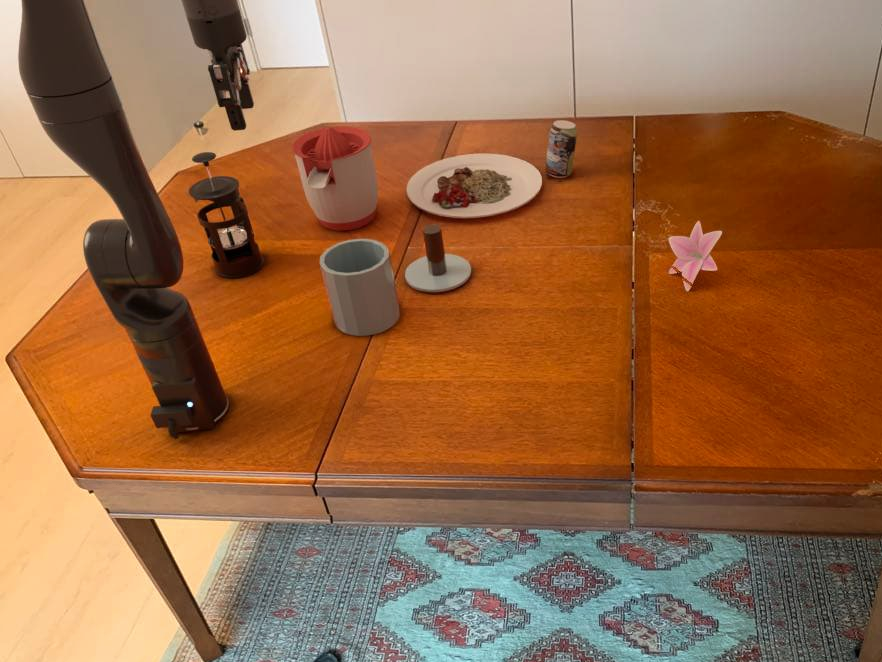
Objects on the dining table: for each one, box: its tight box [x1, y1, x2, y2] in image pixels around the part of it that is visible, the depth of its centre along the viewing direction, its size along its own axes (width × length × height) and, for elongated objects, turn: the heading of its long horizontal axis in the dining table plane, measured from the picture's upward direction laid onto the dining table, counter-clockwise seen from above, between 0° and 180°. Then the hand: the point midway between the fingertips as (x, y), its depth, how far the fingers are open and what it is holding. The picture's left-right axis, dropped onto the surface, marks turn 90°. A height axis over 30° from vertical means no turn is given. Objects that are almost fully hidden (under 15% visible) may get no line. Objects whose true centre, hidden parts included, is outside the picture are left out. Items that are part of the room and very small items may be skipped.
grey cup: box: [319, 238, 401, 337], centre depth 141 cm, size 12×12×12 cm
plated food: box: [406, 152, 543, 219], centre depth 178 cm, size 30×30×3 cm
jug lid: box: [404, 223, 472, 293], centre depth 151 cm, size 13×13×10 cm
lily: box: [668, 220, 723, 292], centre depth 149 cm, size 12×12×10 cm
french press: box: [188, 151, 265, 280], centre depth 152 cm, size 12×9×23 cm
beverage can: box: [544, 119, 578, 179], centre depth 180 cm, size 6×7×12 cm
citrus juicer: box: [291, 125, 379, 231], centre depth 165 cm, size 16×17×20 cm
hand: (243, 118), depth 128 cm, fingers open, 8 cm apart
